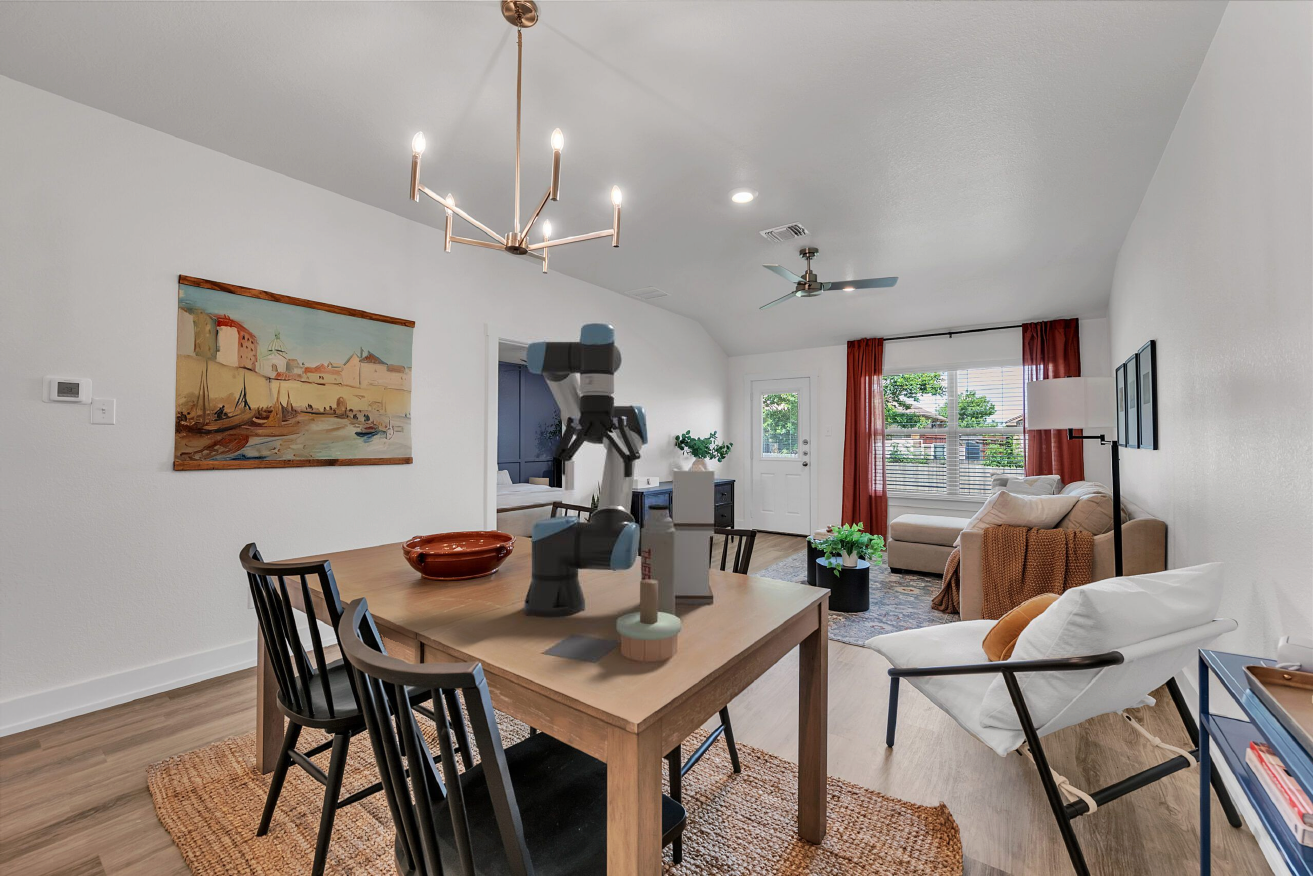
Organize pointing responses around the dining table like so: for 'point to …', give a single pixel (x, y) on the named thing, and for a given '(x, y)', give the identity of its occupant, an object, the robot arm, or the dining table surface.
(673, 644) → the bowl
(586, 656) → the mat
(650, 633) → the lid
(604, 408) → the robot arm
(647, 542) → the thermos bottle
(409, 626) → the dining table surface
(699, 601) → the white pedestal stand
